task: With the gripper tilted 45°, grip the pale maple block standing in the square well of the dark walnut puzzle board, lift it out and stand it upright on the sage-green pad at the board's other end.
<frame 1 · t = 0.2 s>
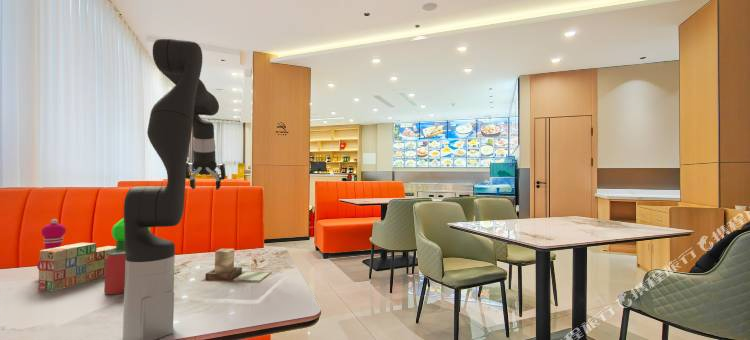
hand: (205, 188, 127), 31 cm above the table, tool tilted 20°, fingers open, 8 cm apart
puzzle board: (238, 279, 112), on the table
maple block: (224, 276, 112), point 1 cm above the table, touching puzzle board
plastic bottle: (129, 279, 110), on the table
pepper mill: (51, 277, 111), on the table
beer can: (118, 292, 98), on the table
stack of blocks: (83, 280, 109), on the table
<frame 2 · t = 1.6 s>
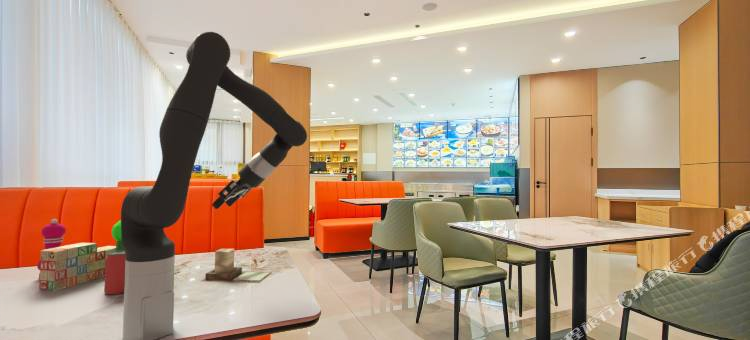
hand: (221, 205, 102), 26 cm above the table, tool tilted 45°, fingers open, 8 cm apart
nothing on the table moved.
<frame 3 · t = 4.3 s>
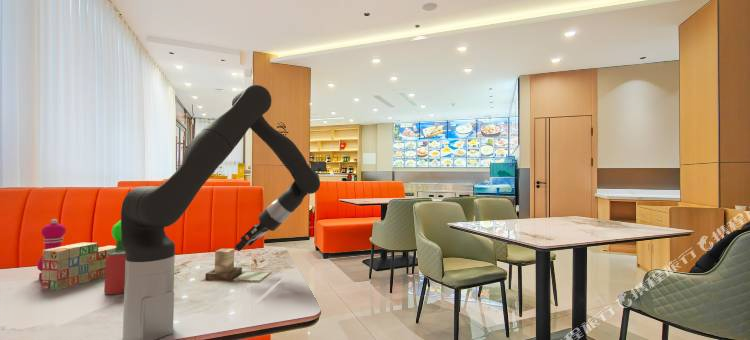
hand: (242, 246, 112), 11 cm above the table, tool tilted 45°, fingers open, 8 cm apart
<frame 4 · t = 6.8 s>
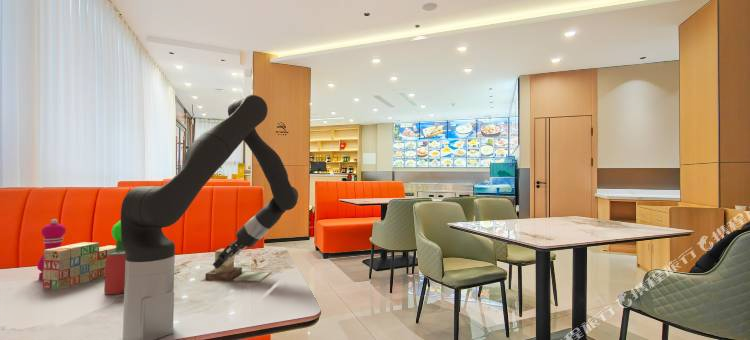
hand: (219, 264, 112), 5 cm above the table, tool tilted 45°, fingers closed on maple block, 4 cm apart
maple block: (224, 275, 112), point 1 cm above the table, touching gripper, puzzle board
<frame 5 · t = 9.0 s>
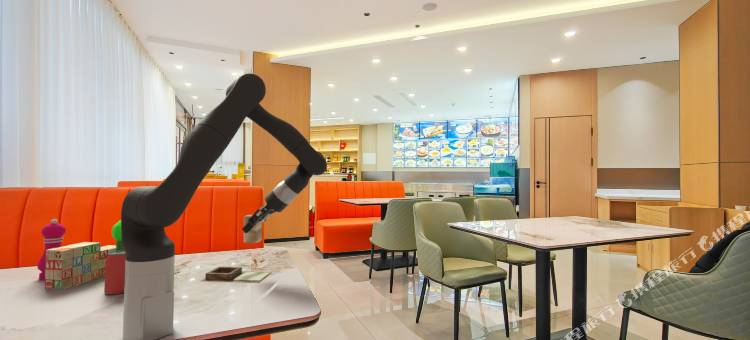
hand: (247, 229, 112), 17 cm above the table, tool tilted 45°, fingers closed on maple block, 4 cm apart
maple block: (252, 241, 112), point 13 cm above the table, touching gripper
when the fingers open (7 cm above the table, at t = 11.3 s): maple block drops 1 cm, resting on puzzle board.
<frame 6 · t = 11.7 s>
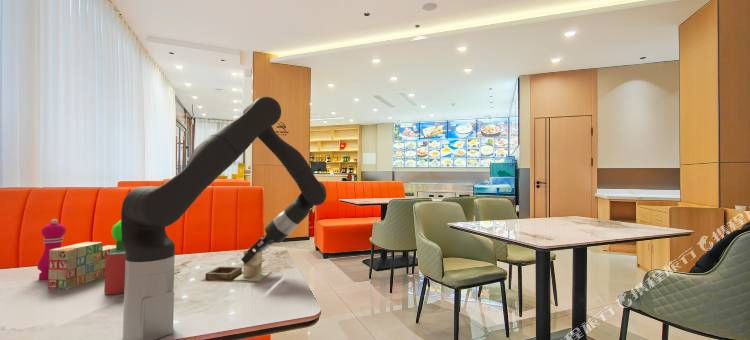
hand: (248, 258, 112), 7 cm above the table, tool tilted 45°, fingers open, 8 cm apart
maple block: (252, 275, 112), point 1 cm above the table, touching puzzle board
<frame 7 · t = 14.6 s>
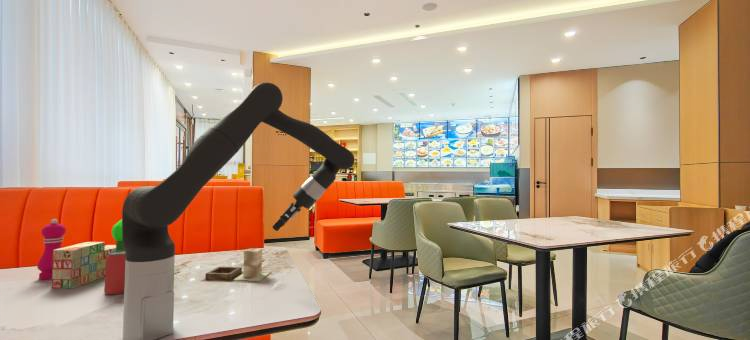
hand: (277, 226, 111), 19 cm above the table, tool tilted 40°, fingers open, 8 cm apart
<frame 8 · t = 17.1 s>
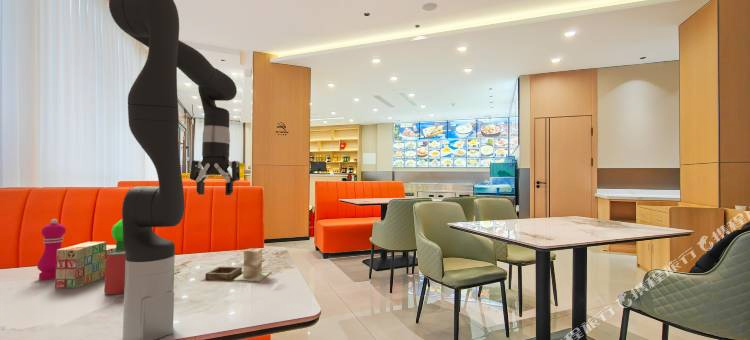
hand: (214, 194, 98), 30 cm above the table, tool pointing down, fingers open, 8 cm apart
at the end: maple block inside the target area (0.1 cm from its centre), point 1.3 cm above the table; maple block tilted 0°; the gripper is holding nothing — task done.
